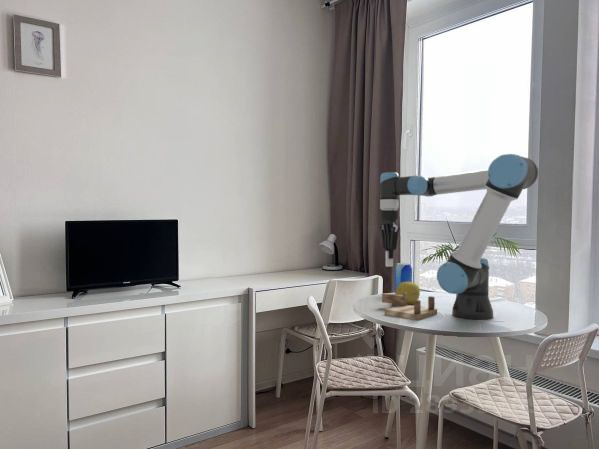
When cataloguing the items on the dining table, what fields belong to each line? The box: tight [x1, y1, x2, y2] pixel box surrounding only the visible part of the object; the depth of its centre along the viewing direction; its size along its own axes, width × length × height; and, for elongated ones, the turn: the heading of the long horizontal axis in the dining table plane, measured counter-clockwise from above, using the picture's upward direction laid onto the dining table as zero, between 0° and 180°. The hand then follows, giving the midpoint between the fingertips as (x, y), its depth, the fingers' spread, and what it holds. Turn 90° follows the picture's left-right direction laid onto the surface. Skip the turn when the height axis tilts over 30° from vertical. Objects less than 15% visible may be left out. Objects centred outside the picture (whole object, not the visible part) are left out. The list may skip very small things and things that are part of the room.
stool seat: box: [384, 295, 438, 321], centre depth 185 cm, size 15×15×7 cm
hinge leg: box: [381, 292, 407, 305], centre depth 196 cm, size 11×2×5 cm, turn 50°
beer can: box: [394, 262, 413, 294], centre depth 229 cm, size 8×8×16 cm
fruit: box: [396, 281, 421, 305], centre depth 209 cm, size 10×11×10 cm
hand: (389, 266), depth 193 cm, fingers closed
